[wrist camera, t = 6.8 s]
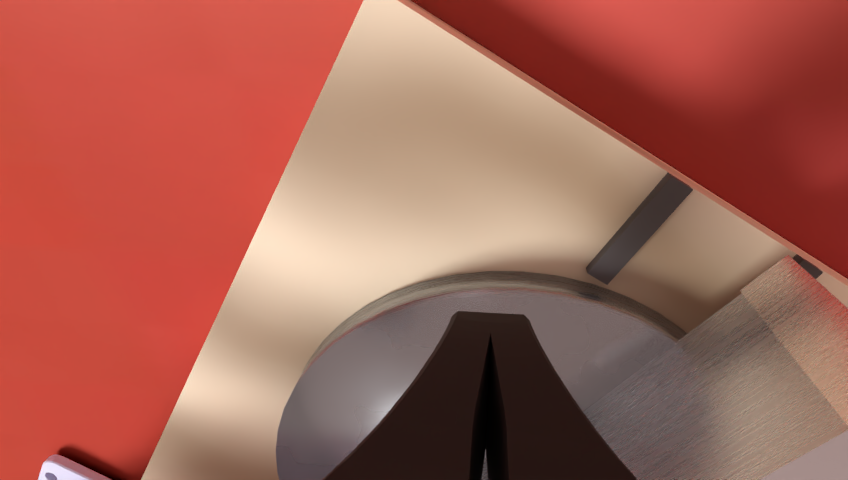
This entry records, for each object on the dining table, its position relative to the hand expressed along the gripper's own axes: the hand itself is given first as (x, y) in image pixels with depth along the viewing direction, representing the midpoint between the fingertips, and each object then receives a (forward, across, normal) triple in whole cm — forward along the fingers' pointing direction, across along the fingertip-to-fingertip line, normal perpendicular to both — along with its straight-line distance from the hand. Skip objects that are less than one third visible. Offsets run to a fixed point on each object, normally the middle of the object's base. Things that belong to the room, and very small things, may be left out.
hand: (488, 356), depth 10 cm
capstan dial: (+4, -2, +6) cm, 8 cm away
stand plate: (+6, -1, +7) cm, 9 cm away
